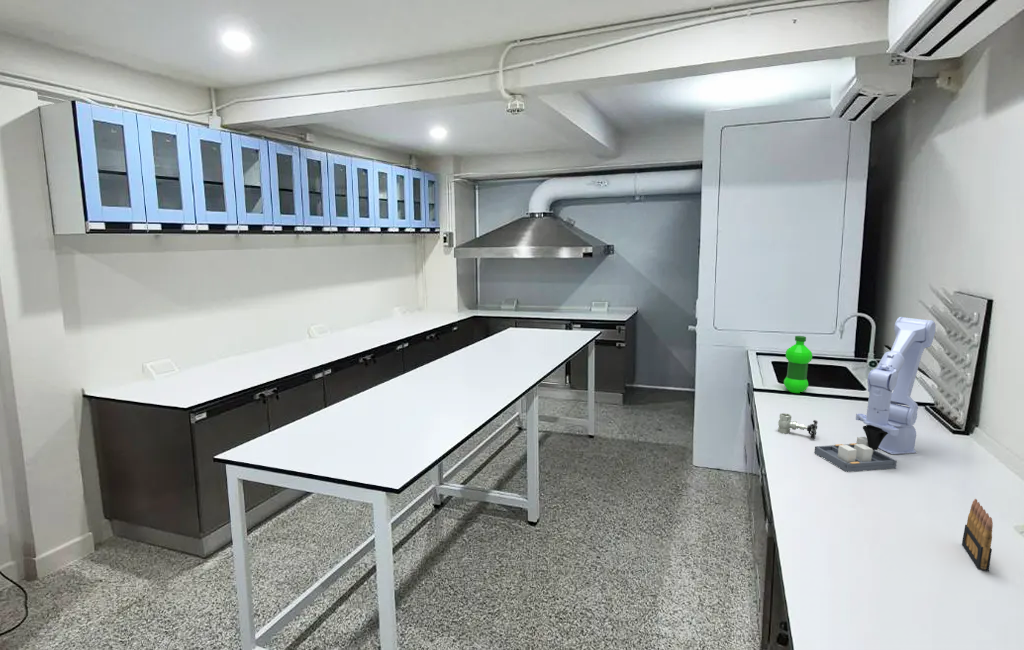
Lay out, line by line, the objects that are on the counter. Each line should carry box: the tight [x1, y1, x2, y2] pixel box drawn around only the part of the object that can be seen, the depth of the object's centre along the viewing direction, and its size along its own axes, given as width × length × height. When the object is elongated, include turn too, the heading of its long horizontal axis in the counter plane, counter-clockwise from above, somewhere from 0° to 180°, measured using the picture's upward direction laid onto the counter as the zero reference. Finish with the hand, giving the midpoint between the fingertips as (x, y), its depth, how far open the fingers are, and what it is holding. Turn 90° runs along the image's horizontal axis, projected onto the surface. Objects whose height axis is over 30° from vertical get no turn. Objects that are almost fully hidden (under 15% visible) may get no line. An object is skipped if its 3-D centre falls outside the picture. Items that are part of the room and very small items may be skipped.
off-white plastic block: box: [838, 444, 857, 463], centre depth 171 cm, size 3×4×4 cm
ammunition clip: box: [961, 498, 994, 572], centre depth 123 cm, size 11×2×12 cm, turn 156°
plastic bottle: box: [783, 335, 813, 394], centre depth 246 cm, size 10×10×25 cm
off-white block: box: [854, 444, 873, 462], centre depth 172 cm, size 3×4×4 cm
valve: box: [777, 412, 818, 440], centre depth 197 cm, size 7×7×12 cm
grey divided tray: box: [813, 442, 898, 473], centre depth 175 cm, size 17×14×3 cm
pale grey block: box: [856, 436, 874, 455], centre depth 178 cm, size 3×4×4 cm
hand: (873, 449), depth 175 cm, fingers closed
